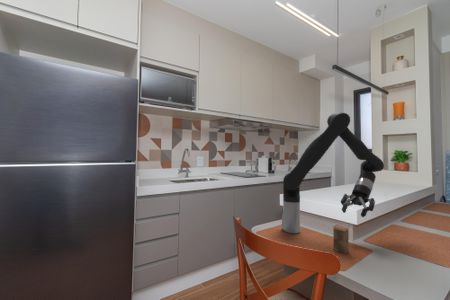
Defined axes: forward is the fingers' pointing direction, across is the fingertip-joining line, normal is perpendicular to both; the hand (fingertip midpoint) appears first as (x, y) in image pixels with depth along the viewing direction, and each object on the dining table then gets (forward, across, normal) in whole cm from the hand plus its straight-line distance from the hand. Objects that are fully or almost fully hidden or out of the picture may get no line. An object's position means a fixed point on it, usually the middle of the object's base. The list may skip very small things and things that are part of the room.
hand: (352, 213), depth 102 cm
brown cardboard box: (+19, 0, +3) cm, 19 cm away
